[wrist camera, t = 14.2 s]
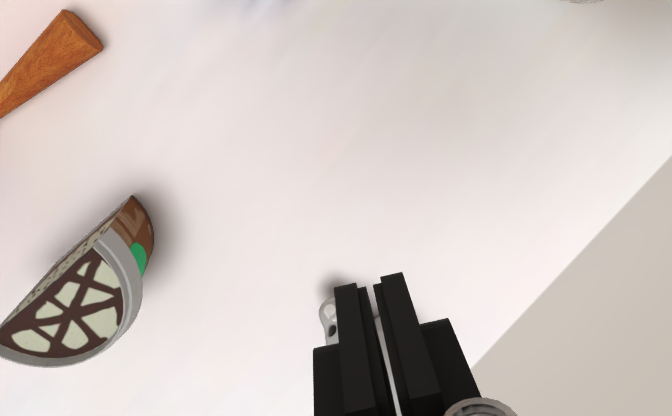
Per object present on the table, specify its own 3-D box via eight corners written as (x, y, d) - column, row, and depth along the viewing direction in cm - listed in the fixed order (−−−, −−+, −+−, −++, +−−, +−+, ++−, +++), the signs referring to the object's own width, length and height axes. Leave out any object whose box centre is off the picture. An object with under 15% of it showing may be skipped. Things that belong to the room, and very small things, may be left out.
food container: (102, 318, 46) (51, 403, 37) (44, 273, 44) (-25, 351, 35) (201, 235, 43) (173, 304, 34) (144, 183, 41) (98, 241, 32)
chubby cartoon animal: (361, 253, 45) (372, 311, 37) (429, 346, 49) (452, 415, 42) (292, 295, 46) (289, 359, 38) (364, 381, 51) (375, 455, 43)
